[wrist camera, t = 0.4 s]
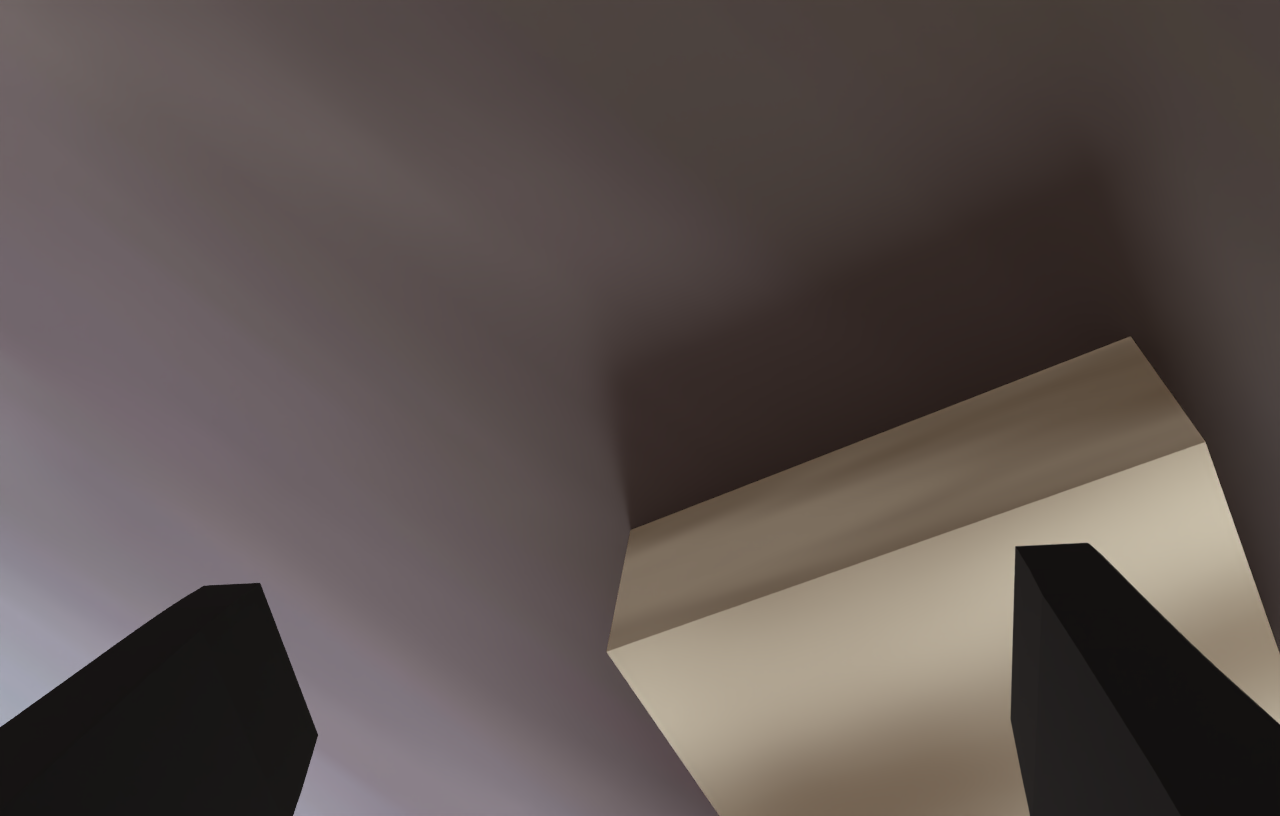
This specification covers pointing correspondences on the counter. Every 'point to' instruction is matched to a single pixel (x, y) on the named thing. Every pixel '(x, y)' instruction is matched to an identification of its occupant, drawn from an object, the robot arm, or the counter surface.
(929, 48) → the counter surface
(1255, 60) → the counter surface
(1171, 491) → the birch base
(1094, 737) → the robot arm
